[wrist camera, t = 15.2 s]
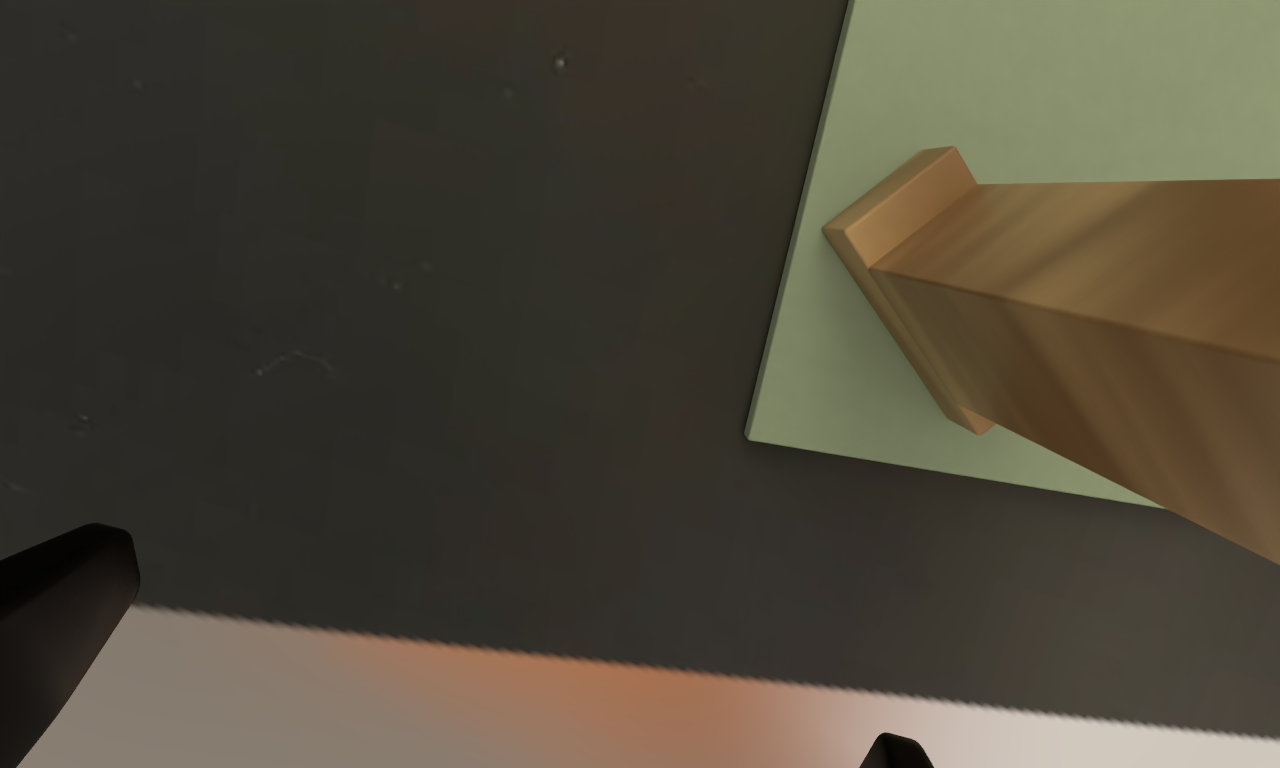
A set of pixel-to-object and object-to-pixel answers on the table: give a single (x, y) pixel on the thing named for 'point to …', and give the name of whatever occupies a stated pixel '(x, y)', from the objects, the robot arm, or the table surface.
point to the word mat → (996, 154)
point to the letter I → (1093, 323)
